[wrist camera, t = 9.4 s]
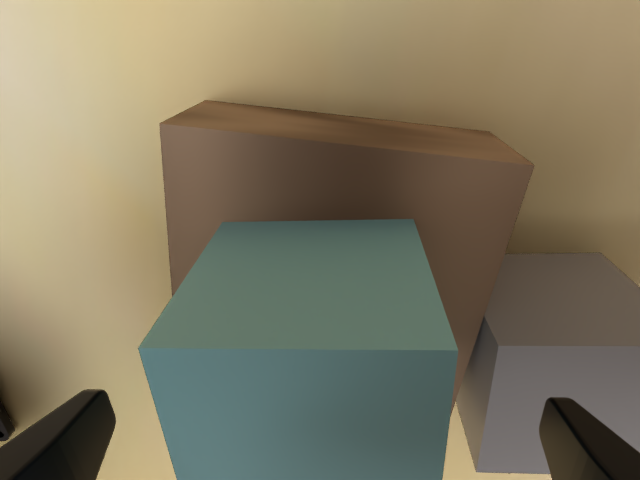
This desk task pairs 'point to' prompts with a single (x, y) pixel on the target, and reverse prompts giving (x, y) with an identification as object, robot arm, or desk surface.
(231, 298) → the teal cube
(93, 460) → the robot arm
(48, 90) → the desk surface
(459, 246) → the walnut block
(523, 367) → the grey cube
